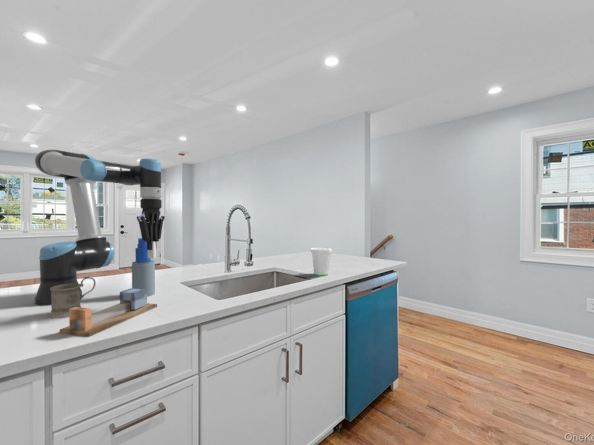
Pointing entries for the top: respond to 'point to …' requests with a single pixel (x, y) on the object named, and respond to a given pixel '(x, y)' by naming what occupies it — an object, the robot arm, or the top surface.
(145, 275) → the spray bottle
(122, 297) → the slider
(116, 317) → the rail board
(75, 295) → the mug
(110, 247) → the robot arm
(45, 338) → the top surface
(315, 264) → the cup
